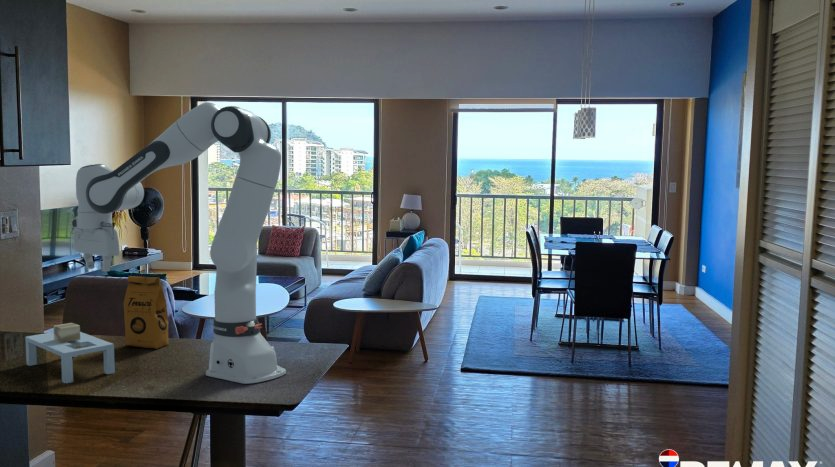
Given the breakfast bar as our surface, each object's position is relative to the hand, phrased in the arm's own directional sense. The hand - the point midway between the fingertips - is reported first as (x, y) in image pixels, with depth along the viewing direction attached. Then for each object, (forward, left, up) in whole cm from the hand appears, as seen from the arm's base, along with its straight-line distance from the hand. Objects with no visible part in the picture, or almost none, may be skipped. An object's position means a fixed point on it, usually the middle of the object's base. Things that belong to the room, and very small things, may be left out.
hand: (98, 269), depth 200 cm
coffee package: (+6, -17, -27) cm, 32 cm away
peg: (-1, +10, -23) cm, 25 cm away
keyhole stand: (-2, +10, -26) cm, 28 cm away
